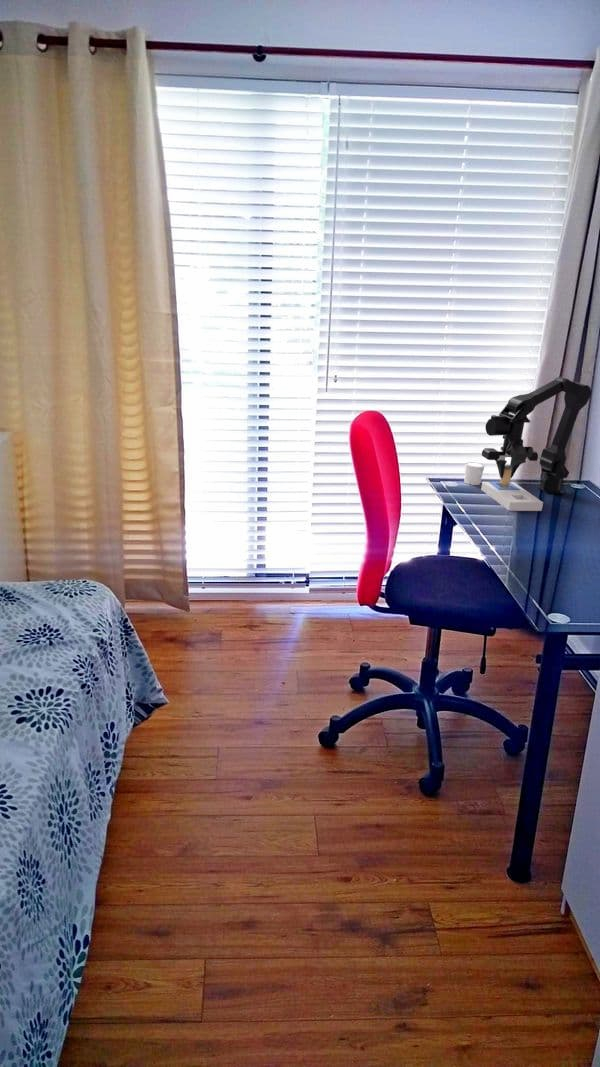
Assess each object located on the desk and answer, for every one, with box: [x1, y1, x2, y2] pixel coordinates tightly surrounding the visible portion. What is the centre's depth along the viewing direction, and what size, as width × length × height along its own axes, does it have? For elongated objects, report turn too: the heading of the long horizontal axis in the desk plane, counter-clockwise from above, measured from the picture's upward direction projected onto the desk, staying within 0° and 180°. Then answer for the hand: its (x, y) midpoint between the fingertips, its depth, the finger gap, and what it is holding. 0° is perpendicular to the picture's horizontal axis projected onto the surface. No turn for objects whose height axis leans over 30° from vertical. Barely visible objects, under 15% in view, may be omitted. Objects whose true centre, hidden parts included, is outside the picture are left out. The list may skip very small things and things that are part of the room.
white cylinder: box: [463, 461, 485, 486], centre depth 285 cm, size 7×7×7 cm
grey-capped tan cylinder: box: [499, 464, 513, 487], centre depth 273 cm, size 3×3×9 cm
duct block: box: [480, 481, 544, 512], centre depth 269 cm, size 12×22×3 cm, turn 12°
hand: (505, 478), depth 273 cm, fingers closed on grey-capped tan cylinder, 3 cm apart
